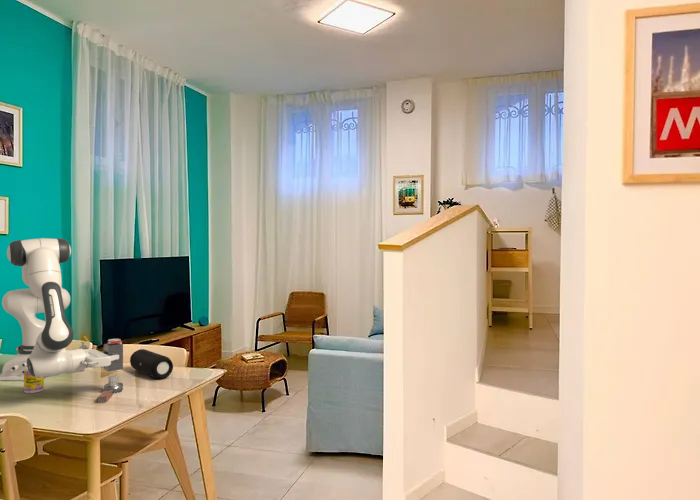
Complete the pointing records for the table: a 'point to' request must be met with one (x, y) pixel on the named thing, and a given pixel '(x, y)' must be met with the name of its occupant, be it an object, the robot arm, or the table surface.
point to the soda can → (114, 341)
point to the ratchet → (110, 389)
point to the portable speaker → (151, 363)
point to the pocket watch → (83, 346)
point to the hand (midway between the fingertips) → (115, 355)
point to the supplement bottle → (32, 382)
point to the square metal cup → (113, 350)
